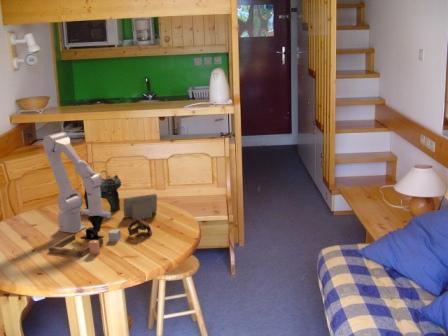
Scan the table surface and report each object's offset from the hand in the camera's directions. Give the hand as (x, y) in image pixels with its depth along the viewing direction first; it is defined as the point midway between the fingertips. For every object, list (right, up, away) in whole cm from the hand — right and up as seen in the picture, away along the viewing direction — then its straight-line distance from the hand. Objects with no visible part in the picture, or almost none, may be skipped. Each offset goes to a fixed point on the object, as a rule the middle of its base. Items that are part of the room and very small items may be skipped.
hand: (97, 231), depth 244 cm
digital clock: (+16, +5, +22) cm, 28 cm away
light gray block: (+9, -3, -6) cm, 11 cm away
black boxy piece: (-2, -3, -2) cm, 4 cm away
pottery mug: (+19, -2, -1) cm, 19 cm away
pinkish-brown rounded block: (+3, -7, -19) cm, 21 cm away
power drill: (-5, +7, +34) cm, 35 cm away
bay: (-6, -5, -12) cm, 14 cm away
